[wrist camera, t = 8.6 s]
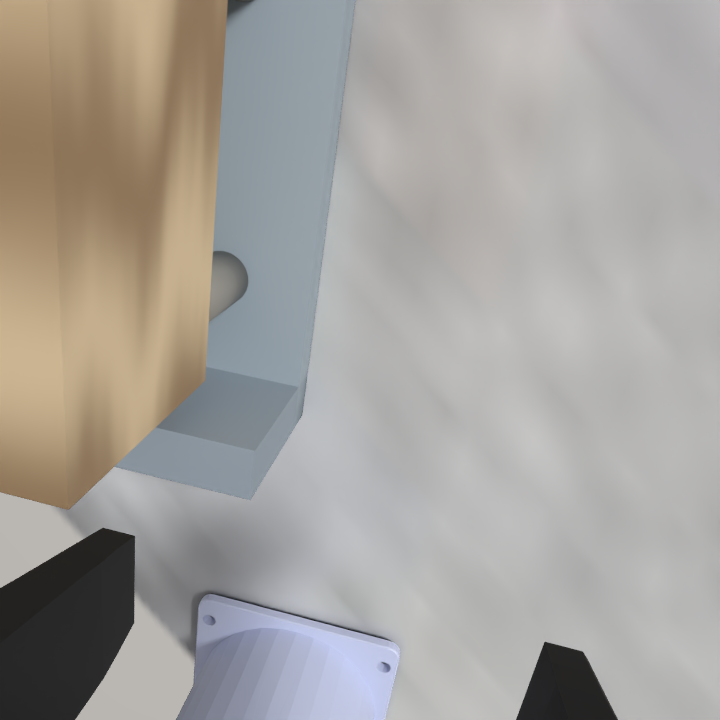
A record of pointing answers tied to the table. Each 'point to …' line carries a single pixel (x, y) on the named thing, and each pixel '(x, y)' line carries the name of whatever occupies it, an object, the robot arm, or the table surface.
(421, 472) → the table surface
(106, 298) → the oak plank
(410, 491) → the table surface
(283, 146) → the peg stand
